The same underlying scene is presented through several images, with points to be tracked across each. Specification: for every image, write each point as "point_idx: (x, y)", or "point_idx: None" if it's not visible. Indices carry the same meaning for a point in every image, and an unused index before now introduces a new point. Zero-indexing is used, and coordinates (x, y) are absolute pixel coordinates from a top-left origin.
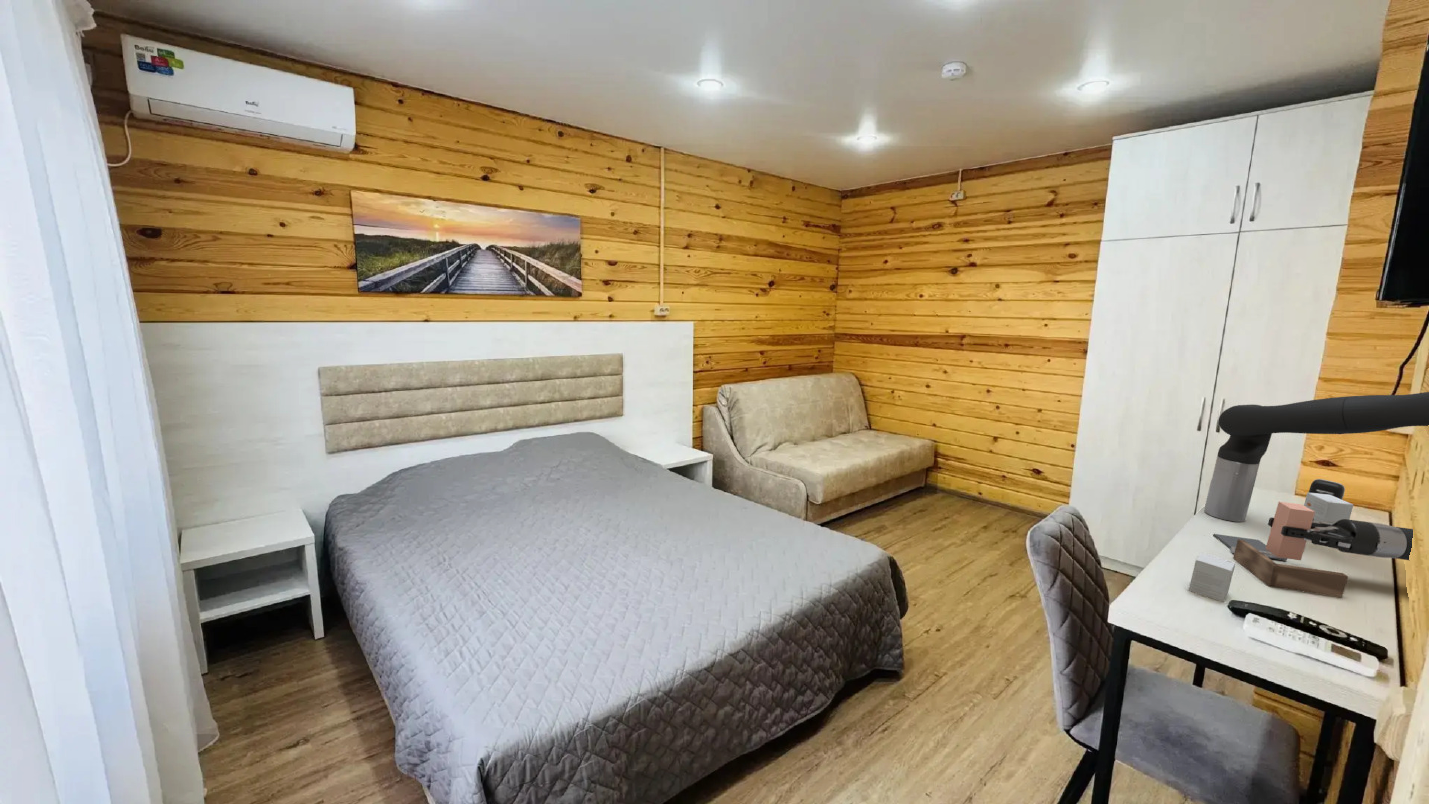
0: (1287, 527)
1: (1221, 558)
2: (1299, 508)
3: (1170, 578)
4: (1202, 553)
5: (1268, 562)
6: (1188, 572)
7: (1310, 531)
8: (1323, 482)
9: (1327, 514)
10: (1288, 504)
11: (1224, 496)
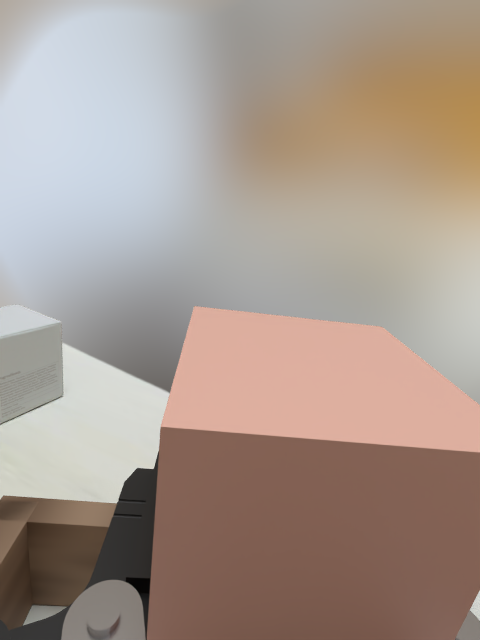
0: (157, 457)
1: (17, 330)
2: (243, 348)
3: (82, 373)
4: (53, 320)
5: (47, 501)
6: (117, 408)
7: (69, 622)
8: None
9: None
10: (340, 338)
11: None
